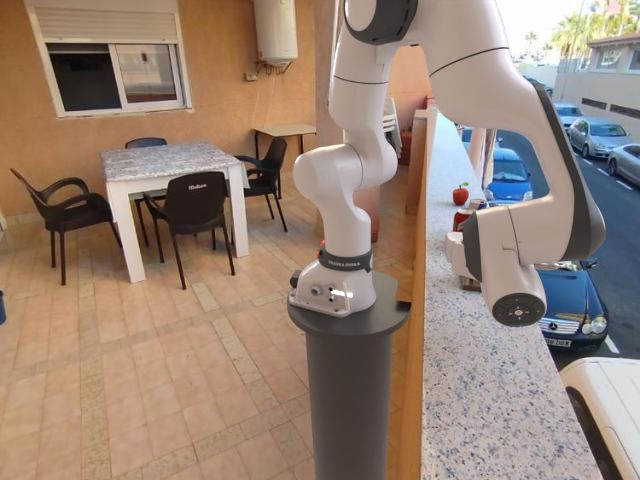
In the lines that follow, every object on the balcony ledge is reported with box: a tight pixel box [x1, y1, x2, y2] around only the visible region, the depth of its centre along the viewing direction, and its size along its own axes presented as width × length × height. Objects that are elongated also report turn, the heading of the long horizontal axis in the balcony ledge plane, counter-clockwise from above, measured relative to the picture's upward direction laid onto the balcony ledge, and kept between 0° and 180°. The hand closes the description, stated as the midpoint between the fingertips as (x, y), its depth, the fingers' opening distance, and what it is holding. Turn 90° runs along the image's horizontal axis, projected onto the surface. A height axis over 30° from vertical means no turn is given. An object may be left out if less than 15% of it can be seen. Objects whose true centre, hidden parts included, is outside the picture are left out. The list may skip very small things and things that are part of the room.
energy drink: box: [467, 198, 488, 211], centre depth 121 cm, size 5×5×12 cm
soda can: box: [451, 207, 476, 232], centre depth 114 cm, size 7×7×12 cm
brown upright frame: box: [461, 276, 482, 292], centre depth 94 cm, size 10×8×15 cm
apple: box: [452, 181, 470, 206], centre depth 151 cm, size 8×7×10 cm
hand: (493, 233), depth 79 cm, fingers open, 8 cm apart
